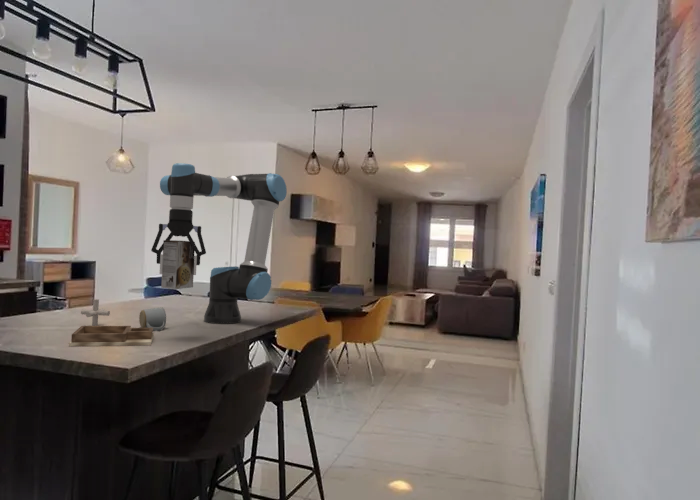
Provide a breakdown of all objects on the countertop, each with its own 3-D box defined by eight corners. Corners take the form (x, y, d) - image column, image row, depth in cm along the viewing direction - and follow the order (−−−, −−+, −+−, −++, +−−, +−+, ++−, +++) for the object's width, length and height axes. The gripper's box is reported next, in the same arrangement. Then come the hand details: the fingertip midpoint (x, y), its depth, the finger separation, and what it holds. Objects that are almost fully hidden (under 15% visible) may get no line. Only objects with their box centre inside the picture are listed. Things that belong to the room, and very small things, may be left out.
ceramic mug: (137, 327, 189) (138, 306, 188) (159, 325, 194) (160, 306, 194) (146, 332, 180) (147, 311, 180) (169, 330, 186) (170, 310, 185)
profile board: (153, 335, 174) (154, 325, 174) (150, 345, 158) (151, 334, 158) (79, 335, 167) (80, 325, 167) (68, 346, 151) (69, 334, 151)
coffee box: (178, 286, 176) (180, 240, 176) (193, 287, 174) (195, 241, 174) (160, 287, 167) (162, 239, 167) (175, 289, 165) (178, 240, 165)
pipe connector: (101, 329, 181) (102, 301, 181) (73, 327, 181) (75, 300, 181) (114, 324, 191) (116, 298, 191) (88, 323, 191) (90, 297, 191)
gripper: (215, 212, 178) (211, 274, 178) (145, 207, 170) (142, 272, 170) (216, 211, 171) (213, 276, 171) (144, 206, 163) (141, 273, 163)
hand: (177, 274), depth 171 cm, fingers closed on coffee box, 10 cm apart
